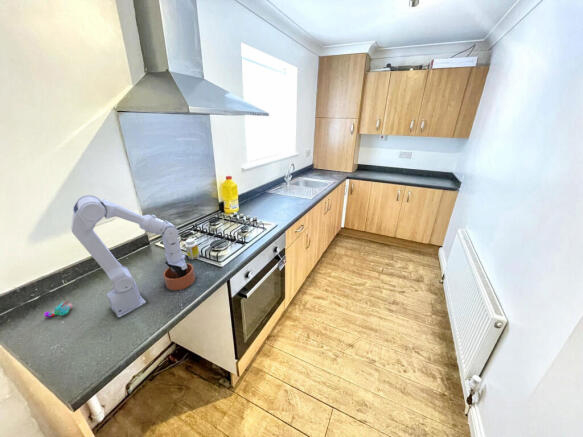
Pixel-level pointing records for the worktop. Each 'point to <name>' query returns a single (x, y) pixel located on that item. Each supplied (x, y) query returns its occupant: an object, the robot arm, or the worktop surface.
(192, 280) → the terracotta round bowl
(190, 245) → the supplement bottle
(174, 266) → the steel cup
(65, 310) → the multicoloured toy
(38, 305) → the worktop surface
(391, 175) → the worktop surface
